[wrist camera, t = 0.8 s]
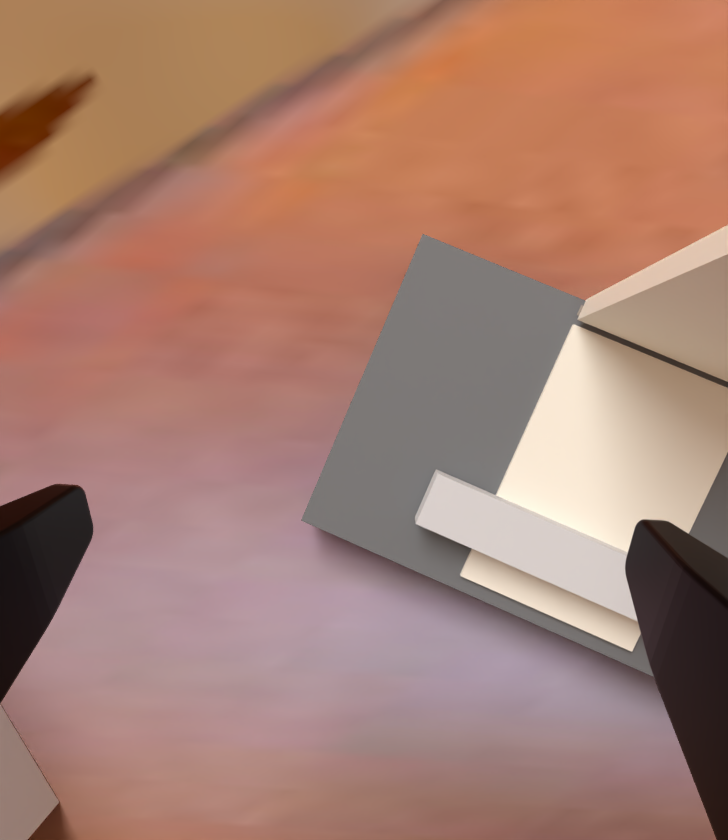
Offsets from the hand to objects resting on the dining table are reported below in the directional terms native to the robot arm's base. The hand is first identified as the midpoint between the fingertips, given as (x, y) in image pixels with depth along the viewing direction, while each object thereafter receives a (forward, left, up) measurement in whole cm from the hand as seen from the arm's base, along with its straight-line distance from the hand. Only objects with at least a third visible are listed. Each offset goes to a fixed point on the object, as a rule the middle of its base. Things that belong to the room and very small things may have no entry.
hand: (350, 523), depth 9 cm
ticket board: (-4, -7, -15) cm, 17 cm away
